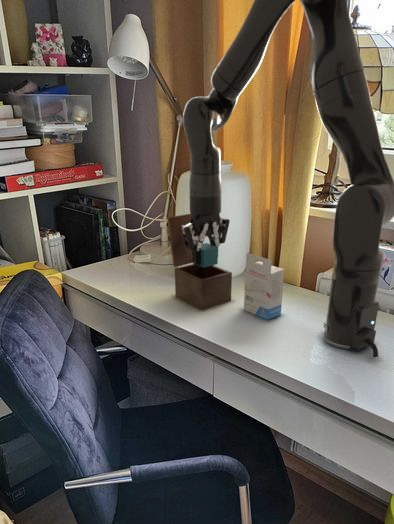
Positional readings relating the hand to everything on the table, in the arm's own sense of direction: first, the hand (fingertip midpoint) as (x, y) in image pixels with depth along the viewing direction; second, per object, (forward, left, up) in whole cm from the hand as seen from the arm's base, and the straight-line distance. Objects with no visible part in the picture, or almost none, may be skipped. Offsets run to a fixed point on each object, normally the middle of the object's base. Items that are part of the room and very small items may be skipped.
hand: (205, 262), depth 120 cm
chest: (+1, 0, -10) cm, 10 cm away
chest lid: (+7, 0, +4) cm, 9 cm away
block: (0, 0, 0) cm, 0 cm away
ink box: (-15, -6, -10) cm, 19 cm away
